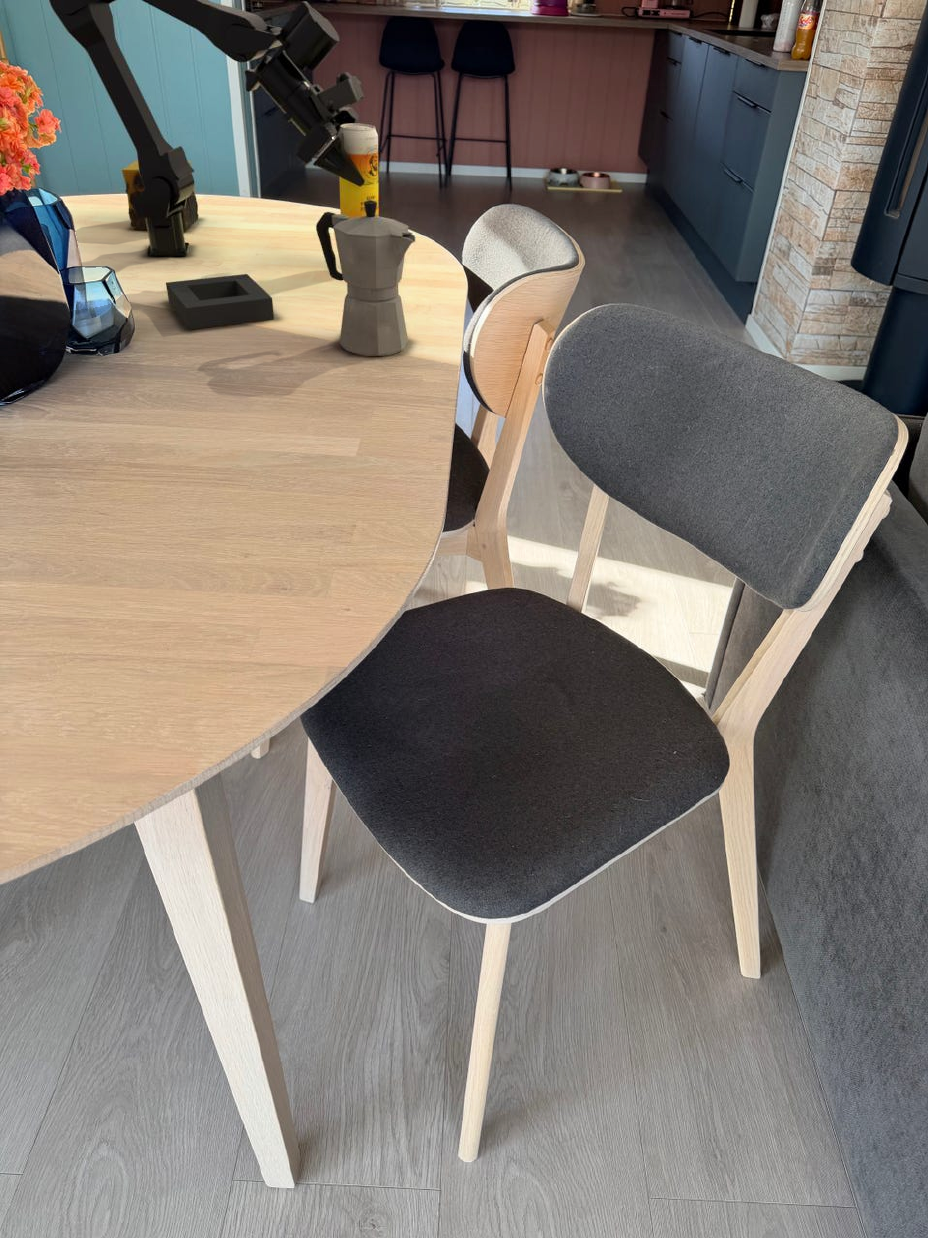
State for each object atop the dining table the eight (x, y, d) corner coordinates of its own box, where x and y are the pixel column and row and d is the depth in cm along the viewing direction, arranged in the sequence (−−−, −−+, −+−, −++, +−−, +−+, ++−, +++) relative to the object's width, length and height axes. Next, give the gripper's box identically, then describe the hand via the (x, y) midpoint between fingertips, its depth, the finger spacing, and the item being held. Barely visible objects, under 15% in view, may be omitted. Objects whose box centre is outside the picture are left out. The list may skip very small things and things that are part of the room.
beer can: (367, 237, 143) (365, 131, 134) (334, 231, 144) (330, 126, 135) (385, 228, 147) (384, 125, 138) (352, 223, 149) (350, 121, 140)
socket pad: (168, 303, 131) (165, 282, 129) (249, 293, 136) (247, 273, 134) (189, 329, 123) (186, 307, 121) (274, 318, 127) (272, 297, 126)
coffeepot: (434, 345, 121) (436, 202, 111) (392, 366, 115) (390, 216, 104) (345, 321, 128) (339, 183, 117) (301, 339, 121) (290, 195, 111)
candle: (186, 232, 162) (178, 171, 156) (130, 230, 162) (119, 169, 156) (200, 218, 170) (193, 160, 164) (147, 216, 170) (137, 157, 164)
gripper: (312, 58, 124) (391, 153, 130) (344, 46, 139) (413, 132, 145) (262, 119, 129) (340, 207, 135) (298, 101, 144) (366, 181, 150)
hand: (367, 179), depth 141 cm, fingers closed on beer can, 6 cm apart
